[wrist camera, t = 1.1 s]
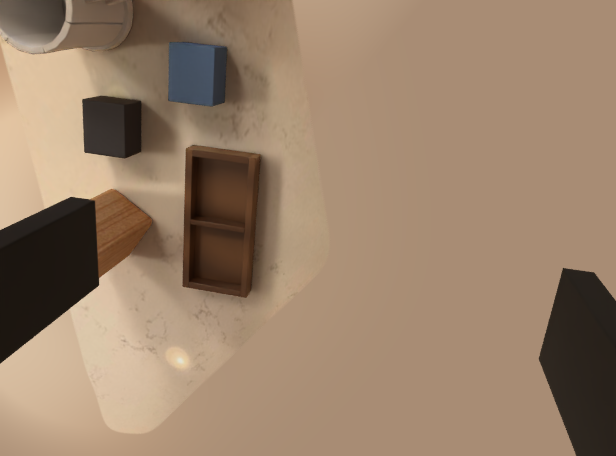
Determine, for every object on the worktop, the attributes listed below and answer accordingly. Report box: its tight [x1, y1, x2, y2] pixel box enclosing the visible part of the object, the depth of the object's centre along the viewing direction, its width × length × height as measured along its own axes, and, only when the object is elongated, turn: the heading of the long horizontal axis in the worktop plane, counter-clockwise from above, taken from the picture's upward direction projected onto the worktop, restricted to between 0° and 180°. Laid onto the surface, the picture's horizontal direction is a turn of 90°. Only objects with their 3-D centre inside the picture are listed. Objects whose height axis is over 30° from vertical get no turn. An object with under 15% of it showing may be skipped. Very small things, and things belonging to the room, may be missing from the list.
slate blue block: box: [168, 42, 227, 107], centre depth 59 cm, size 6×5×4 cm
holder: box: [183, 145, 261, 298], centre depth 66 cm, size 17×8×2 cm, turn 174°
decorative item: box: [90, 189, 152, 278], centre depth 60 cm, size 7×7×20 cm
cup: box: [0, 0, 133, 54], centre depth 55 cm, size 10×9×12 cm
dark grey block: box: [82, 96, 141, 158], centre depth 63 cm, size 6×5×4 cm
